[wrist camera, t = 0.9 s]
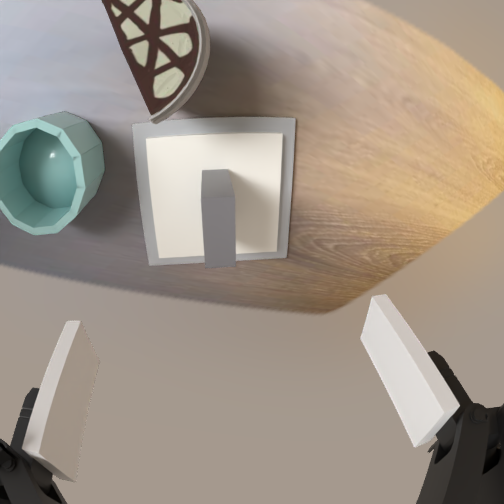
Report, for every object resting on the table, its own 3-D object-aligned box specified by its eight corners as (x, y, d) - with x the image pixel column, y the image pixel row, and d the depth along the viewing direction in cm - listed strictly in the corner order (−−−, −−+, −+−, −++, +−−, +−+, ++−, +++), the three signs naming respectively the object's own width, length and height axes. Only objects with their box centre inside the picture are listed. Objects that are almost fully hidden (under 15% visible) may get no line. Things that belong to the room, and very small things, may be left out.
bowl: (30, 214, 29) (5, 238, 24) (14, 124, 24) (-17, 135, 19) (110, 205, 31) (93, 229, 26) (99, 104, 25) (76, 109, 20)
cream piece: (160, 253, 34) (149, 304, 26) (147, 137, 27) (125, 157, 20) (274, 247, 36) (294, 295, 28) (280, 132, 29) (308, 149, 21)
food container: (228, 91, 27) (238, 91, 18) (168, 115, 27) (151, 127, 19) (183, -13, 21) (175, -53, 12) (124, 13, 21) (91, -15, 12)
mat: (149, 263, 35) (149, 265, 34) (133, 123, 27) (132, 124, 26) (285, 255, 37) (286, 257, 36) (294, 117, 29) (295, 118, 29)
